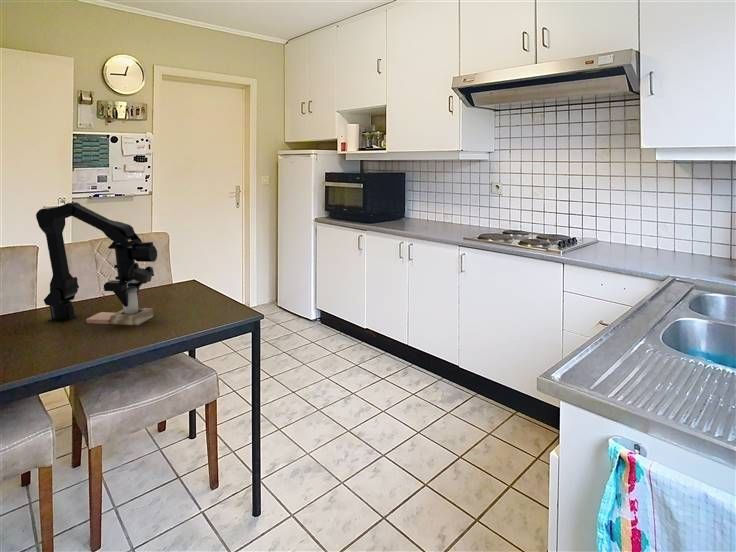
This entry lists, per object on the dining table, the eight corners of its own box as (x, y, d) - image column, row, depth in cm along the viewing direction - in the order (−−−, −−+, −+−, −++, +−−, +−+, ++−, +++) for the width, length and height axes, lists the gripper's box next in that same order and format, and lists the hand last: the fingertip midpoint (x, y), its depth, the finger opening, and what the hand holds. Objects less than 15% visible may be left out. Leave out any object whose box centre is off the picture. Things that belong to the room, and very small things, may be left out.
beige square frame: (111, 324, 168) (110, 315, 167) (127, 315, 178) (126, 307, 177) (138, 325, 167) (137, 317, 167) (153, 316, 177) (152, 308, 176)
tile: (86, 323, 169) (86, 319, 169) (101, 316, 177) (100, 312, 176) (108, 324, 168) (107, 319, 168) (121, 316, 176) (121, 312, 176)
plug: (120, 317, 170) (117, 289, 168) (128, 312, 175) (125, 286, 173) (134, 317, 169) (131, 290, 167) (142, 313, 174) (139, 286, 172)
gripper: (132, 267, 158) (137, 313, 161) (161, 256, 176) (165, 298, 179) (100, 266, 159) (105, 312, 162) (132, 255, 177) (136, 297, 181)
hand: (130, 304), depth 171 cm, fingers closed on plug, 5 cm apart
